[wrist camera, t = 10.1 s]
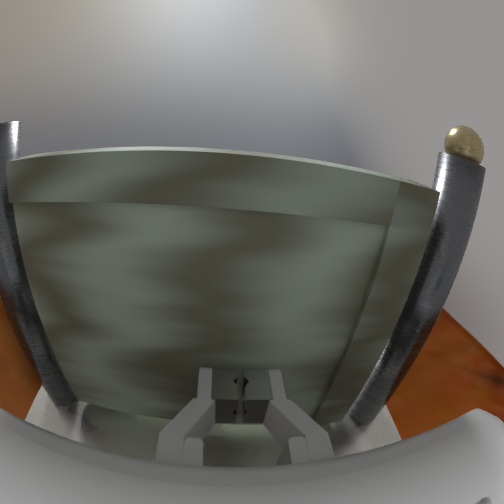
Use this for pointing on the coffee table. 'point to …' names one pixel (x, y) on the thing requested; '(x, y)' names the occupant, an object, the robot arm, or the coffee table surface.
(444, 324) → the coffee table surface
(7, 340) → the coffee table surface
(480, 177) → the gate frame
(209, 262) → the gate
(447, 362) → the coffee table surface
